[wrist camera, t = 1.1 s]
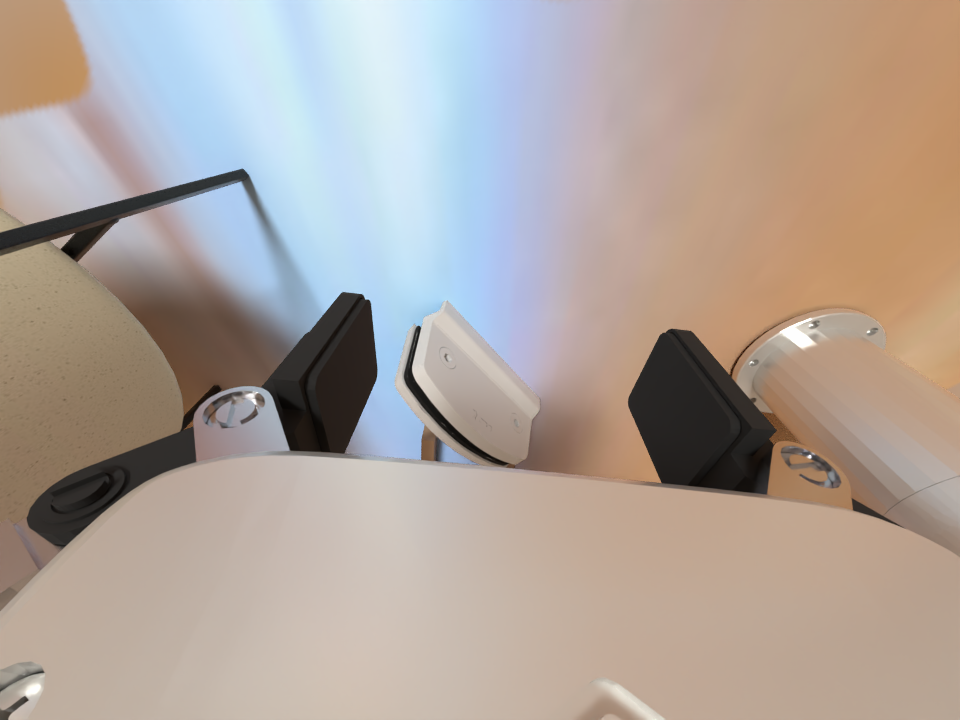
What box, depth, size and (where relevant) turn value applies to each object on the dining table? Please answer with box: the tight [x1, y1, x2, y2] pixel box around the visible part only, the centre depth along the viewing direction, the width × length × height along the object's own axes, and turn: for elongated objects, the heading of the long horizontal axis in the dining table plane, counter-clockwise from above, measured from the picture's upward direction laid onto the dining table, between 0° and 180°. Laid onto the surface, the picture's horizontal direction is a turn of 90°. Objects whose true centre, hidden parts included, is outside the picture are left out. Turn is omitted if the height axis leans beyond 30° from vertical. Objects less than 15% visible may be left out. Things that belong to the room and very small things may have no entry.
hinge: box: [395, 300, 540, 468], centre depth 33 cm, size 17×5×10 cm, turn 39°
